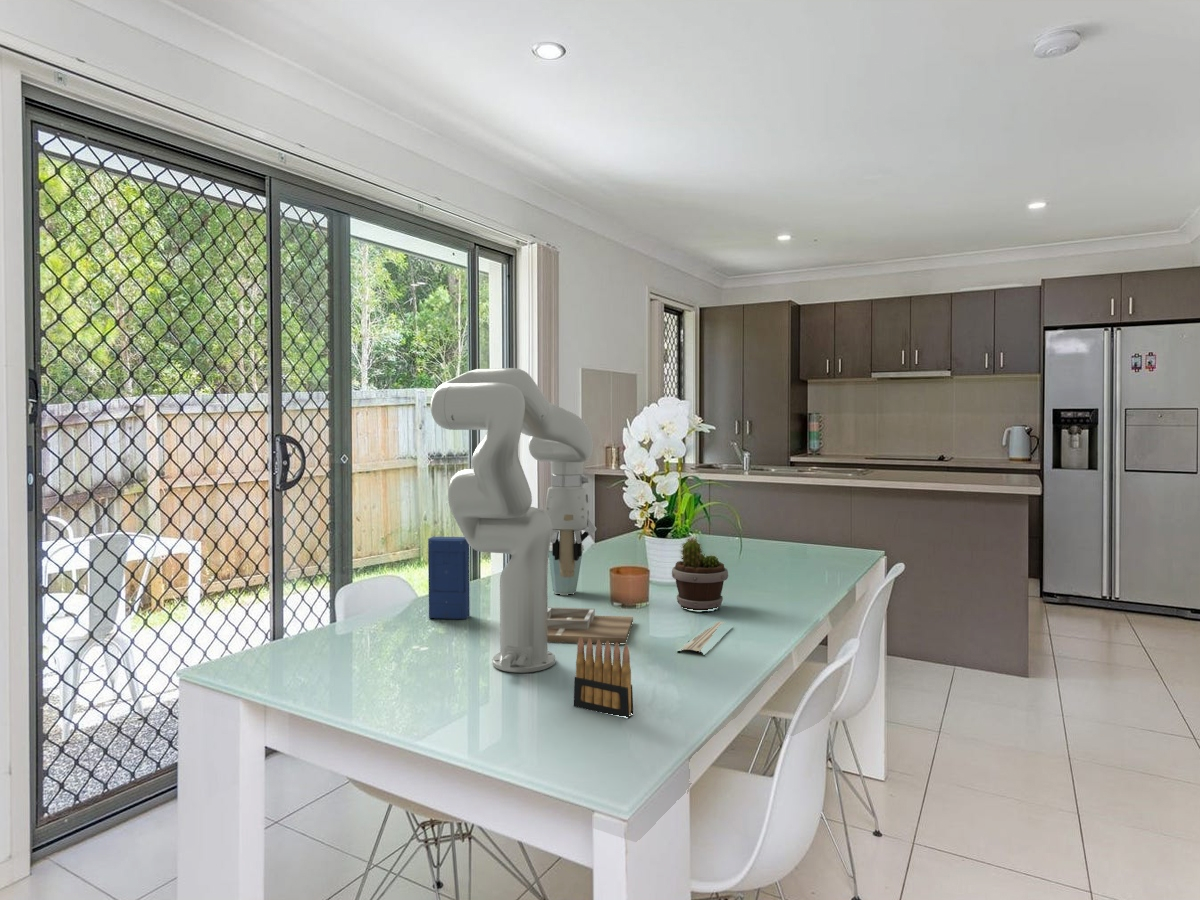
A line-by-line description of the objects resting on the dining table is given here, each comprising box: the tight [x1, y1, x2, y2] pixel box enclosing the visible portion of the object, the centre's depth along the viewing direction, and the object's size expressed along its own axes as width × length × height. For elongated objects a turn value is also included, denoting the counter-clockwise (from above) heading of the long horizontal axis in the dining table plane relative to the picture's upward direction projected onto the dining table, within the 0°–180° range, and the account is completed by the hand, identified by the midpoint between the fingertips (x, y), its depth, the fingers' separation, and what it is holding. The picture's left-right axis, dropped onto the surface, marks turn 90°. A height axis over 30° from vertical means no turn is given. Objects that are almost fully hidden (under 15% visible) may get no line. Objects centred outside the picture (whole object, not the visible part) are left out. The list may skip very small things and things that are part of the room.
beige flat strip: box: [681, 621, 724, 653], centre depth 163 cm, size 24×7×2 cm, turn 156°
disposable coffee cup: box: [548, 542, 585, 596], centre depth 208 cm, size 11×11×15 cm
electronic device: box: [427, 536, 471, 620], centre depth 182 cm, size 10×5×20 cm, turn 84°
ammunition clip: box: [573, 636, 634, 717], centre depth 122 cm, size 11×2×12 cm, turn 59°
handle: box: [558, 515, 576, 578], centre depth 171 cm, size 5×6×15 cm
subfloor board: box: [548, 606, 634, 644], centre depth 169 cm, size 18×22×4 cm
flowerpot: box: [671, 534, 729, 610], centre depth 191 cm, size 14×15×20 cm
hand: (567, 558), depth 171 cm, fingers closed on handle, 4 cm apart
